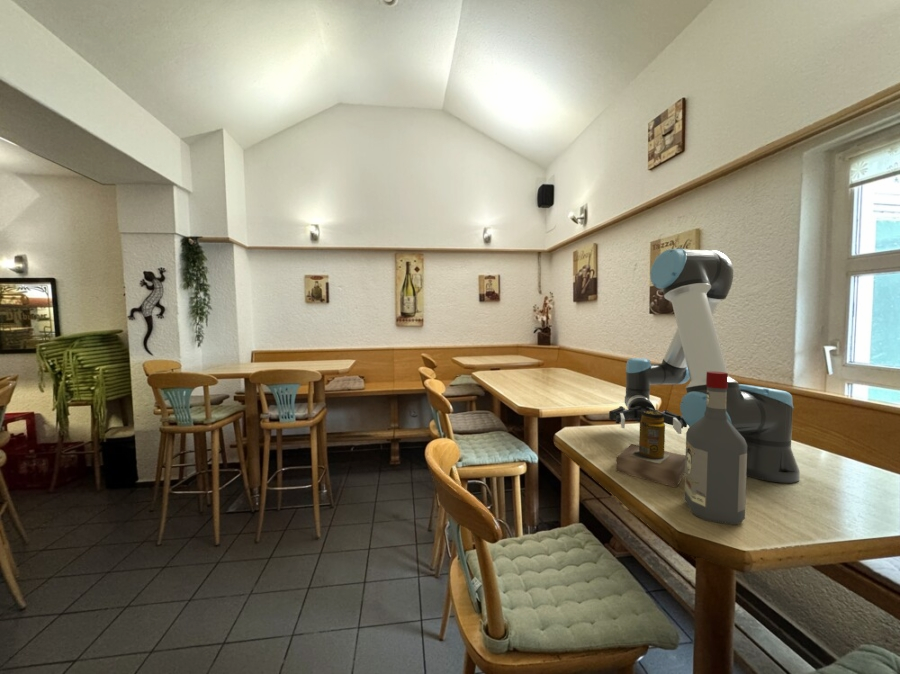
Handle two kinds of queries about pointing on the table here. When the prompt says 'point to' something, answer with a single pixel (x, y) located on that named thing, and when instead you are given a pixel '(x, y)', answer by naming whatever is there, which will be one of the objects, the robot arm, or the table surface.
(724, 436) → the liquor
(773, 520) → the table surface
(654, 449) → the condiment
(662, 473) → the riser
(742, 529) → the table surface
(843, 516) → the table surface
